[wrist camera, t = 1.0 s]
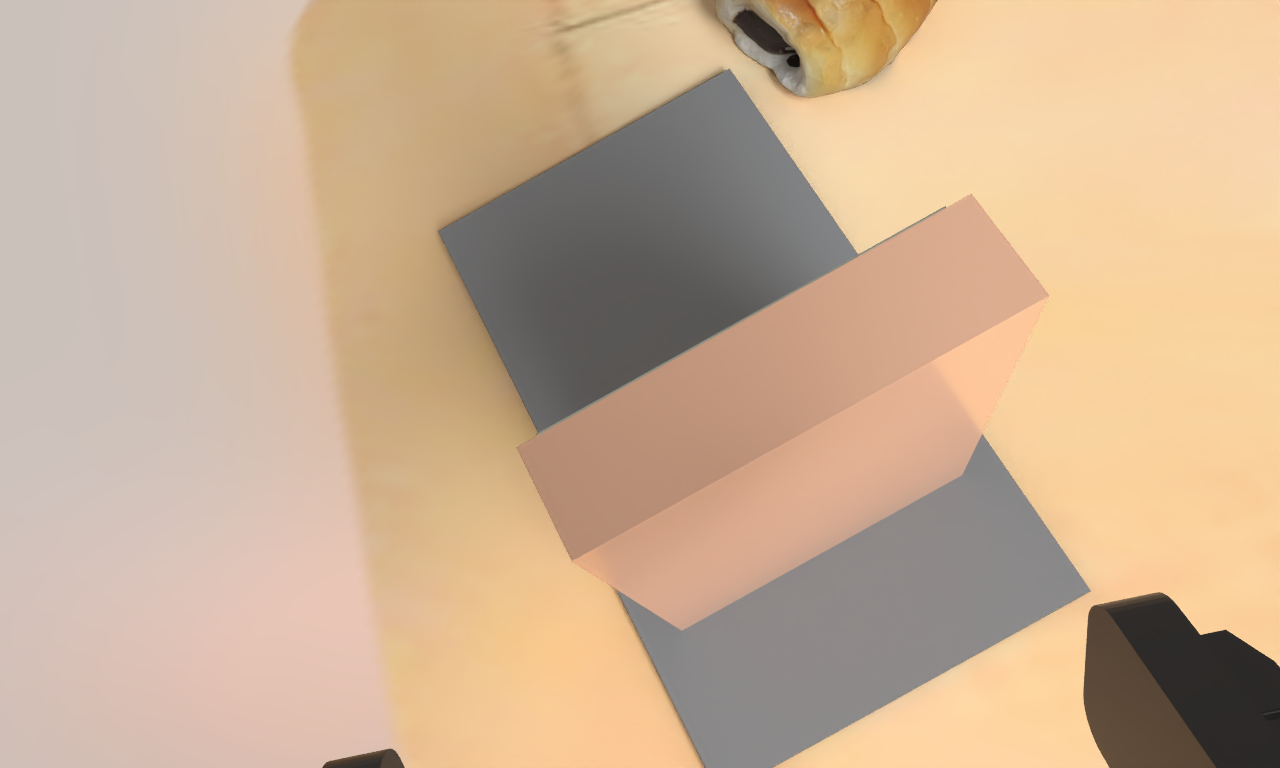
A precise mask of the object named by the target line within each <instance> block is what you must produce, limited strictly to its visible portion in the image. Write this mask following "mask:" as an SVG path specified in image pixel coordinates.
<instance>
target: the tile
mask: <svg viewBox="0 0 1280 768" xmlns="http://www.w3.org/2000/svg"><path fill="white" fill-rule="evenodd" d="M1048 298H1049V294H1048V293H1047V292H1046V290H1045V289H1044V288H1043V286H1042V285H1041V284H1040V283H1039V281H1038V280H1037V279H1036V277H1035V276H1034V275H1033V273H1032V272H1031V271H1030V270H1029V268H1028V267H1027V266H1026V264H1025V263H1024V262H1023V260H1022V259H1021V258H1020V257H1019V255H1018V254H1017V253H1016V251H1015V250H1014V249H1013V247H1012V246H1011V245H1010V243H1009V242H1008V241H1007V240H1006V238H1005V237H1004V236H1003V234H1002V233H1001V232H1000V230H999V229H998V228H997V227H996V225H995V224H994V223H993V221H992V220H991V219H990V217H989V216H988V215H987V214H986V212H985V211H984V210H983V208H982V207H981V206H980V204H979V203H978V202H977V200H976V199H975V198H974V197H973V195H972V194H970V195H968V196H967V197H965V198H963V199H961V200H959V201H958V202H956V203H954V204H952V205H950V206H949V207H947V208H946V207H943V208H941V209H939V210H937V211H936V212H934V213H932V214H930V215H929V216H927V217H925V218H923V219H921V220H920V221H918V222H916V223H914V224H912V225H911V226H909V227H907V228H905V229H903V230H902V231H900V232H898V233H896V234H894V235H893V236H891V237H889V238H887V239H885V240H884V241H882V242H880V243H878V244H876V245H875V246H873V247H871V248H869V249H867V250H866V251H864V252H862V253H860V254H859V255H857V256H855V257H853V258H851V259H850V260H848V261H846V262H844V263H842V264H841V265H839V266H837V267H835V268H833V269H832V270H830V271H828V272H826V273H824V274H823V275H821V276H819V277H817V278H815V279H814V280H812V281H810V282H808V283H806V284H805V285H803V286H801V287H799V288H797V289H796V290H794V291H792V292H790V293H788V294H787V295H785V296H783V297H781V298H780V299H778V300H776V301H774V302H772V303H771V304H769V305H767V306H765V307H763V308H762V309H760V310H758V311H756V312H754V313H753V314H751V315H749V316H747V317H745V318H744V319H742V320H740V321H738V322H736V323H735V324H733V325H731V326H729V327H727V328H726V329H724V330H722V331H720V332H718V333H717V334H715V335H713V336H711V337H710V338H708V339H706V340H704V341H702V342H701V343H699V344H697V345H695V346H693V347H692V348H690V349H688V350H686V351H684V352H683V353H681V354H679V355H677V356H675V357H674V358H672V359H670V360H668V361H666V362H665V363H663V364H661V365H659V366H657V367H656V368H654V369H652V370H650V371H648V372H647V373H645V374H643V375H641V376H639V377H638V378H636V379H634V380H632V381H631V382H629V383H627V384H625V385H623V386H622V387H620V388H618V389H616V390H614V391H613V392H611V393H609V394H607V395H605V396H604V397H602V398H600V399H598V400H596V401H595V402H593V403H591V404H589V405H587V406H586V407H584V408H582V409H580V410H578V411H577V412H575V413H573V414H571V415H569V416H568V417H566V418H564V419H562V420H560V421H559V422H557V423H555V424H553V425H552V426H550V427H548V428H546V429H544V430H543V431H541V432H539V433H537V434H536V435H537V436H536V437H534V438H532V439H530V440H528V441H527V442H525V443H523V444H521V445H519V446H518V447H517V449H518V451H519V453H520V455H521V457H522V459H523V461H524V464H525V466H526V468H527V470H528V472H529V474H530V476H531V478H532V480H533V482H534V484H535V486H536V488H537V490H538V492H539V494H540V496H541V499H542V501H543V503H544V505H545V507H546V509H547V511H548V513H549V515H550V517H551V519H552V521H553V523H554V525H555V527H556V529H557V531H558V534H559V536H560V538H561V540H562V542H563V544H564V546H565V548H566V550H567V552H568V554H569V556H570V558H571V560H572V562H574V563H576V564H577V565H579V566H580V567H582V568H583V569H585V570H587V571H588V572H590V573H591V574H593V575H595V576H596V577H598V578H599V579H601V580H602V581H604V582H606V583H607V584H609V585H610V586H612V587H613V588H615V589H617V590H618V591H620V592H621V593H623V594H625V595H626V596H628V597H629V598H631V599H632V600H634V601H636V602H637V603H639V604H640V605H642V606H643V607H645V608H647V609H648V610H650V611H651V612H653V613H654V614H656V615H658V616H659V617H661V618H662V619H664V620H666V621H667V622H669V623H670V624H672V625H673V626H675V627H677V628H678V629H680V630H681V631H682V630H684V629H686V628H688V627H690V626H691V625H693V624H695V623H697V622H699V621H700V620H702V619H704V618H706V617H708V616H709V615H711V614H713V613H715V612H717V611H718V610H720V609H722V608H724V607H726V606H727V605H729V604H731V603H733V602H735V601H736V600H738V599H740V598H742V597H744V596H745V595H747V594H749V593H751V592H753V591H754V590H756V589H758V588H760V587H762V586H763V585H765V584H767V583H769V582H771V581H772V580H774V579H776V578H778V577H780V576H781V575H783V574H785V573H787V572H789V571H790V570H792V569H794V568H796V567H798V566H799V565H801V564H803V563H805V562H807V561H808V560H810V559H812V558H814V557H816V556H817V555H819V554H821V553H823V552H825V551H826V550H828V549H830V548H832V547H834V546H835V545H837V544H839V543H841V542H843V541H844V540H846V539H848V538H850V537H852V536H853V535H855V534H857V533H859V532H861V531H862V530H864V529H866V528H868V527H870V526H871V525H873V524H875V523H877V522H879V521H880V520H882V519H884V518H886V517H888V516H889V515H891V514H893V513H895V512H897V511H898V510H900V509H902V508H904V507H906V506H907V505H909V504H911V503H913V502H915V501H916V500H918V499H920V498H922V497H924V496H925V495H927V494H929V493H931V492H933V491H934V490H936V489H938V488H940V487H942V486H943V485H945V484H947V483H949V482H951V481H952V480H954V479H956V478H958V477H960V476H961V475H962V474H963V472H964V470H965V468H966V466H967V464H968V462H969V460H970V458H971V456H972V454H973V452H974V450H975V448H976V446H977V443H978V441H979V439H980V437H981V435H982V433H983V431H984V429H985V427H986V425H987V423H988V421H989V419H990V417H991V415H992V413H993V411H994V409H995V407H996V404H997V402H998V400H999V398H1000V396H1001V394H1002V392H1003V390H1004V388H1005V386H1006V384H1007V382H1008V380H1009V378H1010V376H1011V374H1012V372H1013V370H1014V367H1015V365H1016V363H1017V361H1018V359H1019V357H1020V355H1021V353H1022V351H1023V349H1024V347H1025V345H1026V343H1027V341H1028V339H1029V337H1030V335H1031V333H1032V330H1033V328H1034V326H1035V324H1036V322H1037V320H1038V318H1039V316H1040V314H1041V312H1042V310H1043V308H1044V306H1045V304H1046V302H1047V300H1048Z"/></svg>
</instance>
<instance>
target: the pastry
mask: <svg viewBox="0 0 1280 768" xmlns="http://www.w3.org/2000/svg"><path fill="white" fill-rule="evenodd" d="M936 2H937V0H715V6H716V16H717V18H718V19H719V20H720V21H721V22H722V23H723V24H724V25H725V26H726V27H727V28H728V30H729V32H730V33H731V34H733V35H734V37H735V43H736V45H737V46H738V47H739V48H740V49H741V50H742V51H743V52H744V53H745V54H746V55H747V56H748V57H750V58H753V59H754V60H756V61H757V62H758V63H760V64H761V65H763V66H766V67H768V68H771V69H772V70H774V72H775V74H776V77H777V79H778V80H779V82H780V83H781V84H782V85H783V86H784V87H786V88H787V89H788V90H790V91H791V92H792V93H793V94H795V95H797V96H803V97H819V96H824V95H829V94H833V93H836V92H839V91H843V90H848V89H851V88H855V87H857V86H860V85H862V84H864V83H866V82H868V81H869V80H870V79H872V78H873V77H874V76H875V75H877V74H878V73H879V72H880V71H881V70H882V69H884V68H885V67H886V66H887V65H889V64H891V63H892V61H893V60H894V59H895V57H896V56H897V54H898V53H899V51H900V50H901V49H902V48H903V47H904V46H905V45H906V44H907V42H908V41H909V40H910V38H911V37H912V36H913V34H914V33H915V32H916V31H917V30H918V29H919V28H920V26H921V24H922V23H923V21H924V20H925V18H926V17H927V16H928V14H929V13H930V11H931V10H932V8H933V6H934V5H935V3H936Z"/></svg>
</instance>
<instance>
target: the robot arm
mask: <svg viewBox="0 0 1280 768" xmlns="http://www.w3.org/2000/svg"><path fill="white" fill-rule="evenodd" d="M1084 706H1085V711H1086V716H1087V720H1088V723H1089V726H1090V729H1091V732H1092V735H1093V737H1094V739H1095V742H1096V744H1097V746H1098V748H1099V750H1100V752H1101V754H1102V755H1103V757H1104V759H1105V760H1106V762H1107V764H1108V766H1109V767H1110V768H1280V667H1279V666H1278V665H1277V664H1276V663H1275V661H1273V660H1272V659H1270V658H1269V657H1267V656H1265V655H1264V654H1262V653H1261V652H1259V651H1258V650H1256V649H1255V648H1253V647H1252V646H1250V645H1248V644H1247V643H1245V642H1244V641H1242V640H1241V639H1239V638H1238V637H1236V636H1235V635H1233V634H1232V633H1230V632H1228V631H1227V630H1223V631H1218V632H1213V633H1208V634H1203V635H1200V634H1199V633H1198V631H1197V630H1196V629H1195V628H1194V626H1193V625H1192V624H1191V623H1190V621H1189V620H1188V619H1187V617H1186V616H1185V615H1184V614H1183V612H1182V611H1181V610H1180V608H1179V607H1178V606H1177V605H1176V604H1175V602H1174V601H1173V600H1172V599H1171V598H1169V597H1168V596H1167V595H1165V594H1163V593H1160V592H1159V593H1152V594H1148V595H1143V596H1138V597H1133V598H1128V599H1123V600H1119V601H1114V602H1109V603H1104V604H1099V605H1094V606H1093V607H1092V608H1091V609H1090V611H1089V615H1088V628H1087V644H1086V660H1085V676H1084ZM323 768H404V765H403V763H402V761H401V759H400V757H399V756H398V754H397V753H396V751H394V750H393V749H386V750H381V751H376V752H372V753H367V754H362V755H357V756H352V757H348V758H343V759H338V760H333V761H329V762H327V763H326V764H325V765H324V766H323Z"/></svg>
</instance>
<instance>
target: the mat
mask: <svg viewBox="0 0 1280 768" xmlns="http://www.w3.org/2000/svg"><path fill="white" fill-rule="evenodd" d="M438 232H439V234H440V236H441V238H442V240H443V242H444V244H445V246H446V248H447V250H448V252H449V254H450V256H451V258H452V260H453V262H454V264H455V266H456V268H457V270H458V272H459V274H460V276H461V278H462V280H463V282H464V284H465V286H466V288H467V290H468V292H469V294H470V296H471V298H472V300H473V302H474V304H475V306H476V308H477V310H478V312H479V314H480V316H481V318H482V320H483V322H484V324H485V326H486V329H487V331H488V333H489V335H490V337H491V339H492V341H493V343H494V345H495V347H496V349H497V351H498V353H499V355H500V357H501V359H502V361H503V363H504V365H505V367H506V369H507V371H508V373H509V375H510V377H511V379H512V381H513V383H514V385H515V387H516V389H517V391H518V393H519V395H520V397H521V399H522V401H523V403H524V405H525V407H526V409H527V411H528V413H529V415H530V417H531V419H532V421H533V423H534V425H535V427H536V429H537V431H538V433H539V432H541V431H543V430H544V429H546V428H548V427H550V426H552V425H553V424H555V423H557V422H559V421H560V420H562V419H564V418H566V417H568V416H569V415H571V414H573V413H575V412H577V411H578V410H580V409H582V408H584V407H586V406H587V405H589V404H591V403H593V402H595V401H596V400H598V399H600V398H602V397H604V396H605V395H607V394H609V393H611V392H613V391H614V390H616V389H618V388H620V387H622V386H623V385H625V384H627V383H629V382H631V381H632V380H634V379H636V378H638V377H639V376H641V375H643V374H645V373H647V372H648V371H650V370H652V369H654V368H656V367H657V366H659V365H661V364H663V363H665V362H666V361H668V360H670V359H672V358H674V357H675V356H677V355H679V354H681V353H683V352H684V351H686V350H688V349H690V348H692V347H693V346H695V345H697V344H699V343H701V342H702V341H704V340H706V339H708V338H710V337H711V336H713V335H715V334H717V333H718V332H720V331H722V330H724V329H726V328H727V327H729V326H731V325H733V324H735V323H736V322H738V321H740V320H742V319H744V318H745V317H747V316H749V315H751V314H753V313H754V312H756V311H758V310H760V309H762V308H763V307H765V306H767V305H769V304H771V303H772V302H774V301H776V300H778V299H780V298H781V297H783V296H785V295H787V294H788V293H790V292H792V291H794V290H796V289H797V288H799V287H801V286H803V285H805V284H806V283H808V282H810V281H812V280H814V279H815V278H817V277H819V276H821V275H823V274H824V273H826V272H828V271H830V270H832V269H833V268H835V267H837V266H839V265H841V264H842V263H844V262H846V261H848V260H850V259H851V258H853V257H855V256H857V255H858V254H857V252H856V251H855V249H854V248H853V246H852V245H851V244H850V242H849V241H848V239H847V238H846V236H845V235H844V233H843V232H842V231H841V229H840V228H839V226H838V225H837V223H836V222H835V220H834V219H833V218H832V216H831V215H830V213H829V212H828V210H827V209H826V207H825V206H824V205H823V203H822V202H821V200H820V199H819V197H818V196H817V194H816V193H815V192H814V190H813V189H812V187H811V186H810V184H809V183H808V181H807V180H806V179H805V177H804V176H803V174H802V173H801V171H800V170H799V168H798V167H797V166H796V164H795V163H794V161H793V160H792V158H791V157H790V155H789V154H788V153H787V151H786V150H785V148H784V147H783V145H782V144H781V142H780V141H779V140H778V138H777V137H776V135H775V134H774V132H773V131H772V129H771V128H770V126H769V125H768V124H767V122H766V121H765V119H764V118H763V116H762V115H761V113H760V112H759V111H758V109H757V108H756V106H755V105H754V103H753V102H752V100H751V99H750V98H749V96H748V95H747V93H746V92H745V90H744V89H743V87H742V86H741V85H740V83H739V82H738V80H737V79H736V77H735V76H734V74H733V73H732V72H731V70H730V69H728V70H726V71H725V72H723V73H721V74H719V75H717V76H716V77H714V78H712V79H710V80H708V81H707V82H705V83H703V84H701V85H700V86H698V87H696V88H694V89H692V90H691V91H689V92H687V93H685V94H683V95H682V96H680V97H678V98H676V99H674V100H673V101H671V102H669V103H667V104H666V105H664V106H662V107H660V108H658V109H657V110H655V111H653V112H651V113H649V114H648V115H646V116H644V117H642V118H640V119H639V120H637V121H635V122H633V123H631V124H630V125H628V126H626V127H624V128H623V129H621V130H619V131H617V132H615V133H614V134H612V135H610V136H608V137H606V138H605V139H603V140H601V141H599V142H597V143H596V144H594V145H592V146H590V147H589V148H587V149H585V150H583V151H581V152H580V153H578V154H576V155H574V156H572V157H571V158H569V159H567V160H565V161H563V162H562V163H560V164H558V165H556V166H554V167H553V168H551V169H549V170H547V171H546V172H544V173H542V174H540V175H538V176H537V177H535V178H533V179H531V180H529V181H528V182H526V183H524V184H522V185H520V186H519V187H517V188H515V189H513V190H512V191H510V192H508V193H506V194H504V195H503V196H501V197H499V198H497V199H495V200H494V201H492V202H490V203H488V204H486V205H485V206H483V207H481V208H479V209H477V210H476V211H474V212H472V213H470V214H469V215H467V216H465V217H463V218H461V219H460V220H458V221H456V222H454V223H452V224H451V225H449V226H447V227H445V228H443V229H442V230H440V231H438ZM617 591H618V590H617ZM1090 591H1091V590H1090V589H1089V588H1088V586H1087V585H1086V583H1085V582H1084V580H1083V579H1082V577H1081V576H1080V575H1079V573H1078V572H1077V570H1076V569H1075V567H1074V566H1073V564H1072V563H1071V562H1070V560H1069V559H1068V557H1067V556H1066V554H1065V553H1064V551H1063V550H1062V549H1061V547H1060V546H1059V544H1058V543H1057V541H1056V540H1055V538H1054V537H1053V536H1052V534H1051V533H1050V531H1049V530H1048V528H1047V527H1046V525H1045V524H1044V523H1043V521H1042V520H1041V518H1040V517H1039V515H1038V514H1037V512H1036V511H1035V510H1034V508H1033V507H1032V505H1031V504H1030V502H1029V501H1028V499H1027V498H1026V497H1025V495H1024V494H1023V492H1022V491H1021V489H1020V488H1019V486H1018V485H1017V484H1016V482H1015V481H1014V479H1013V478H1012V476H1011V475H1010V473H1009V472H1008V471H1007V469H1006V468H1005V466H1004V465H1003V463H1002V462H1001V460H1000V459H999V457H998V456H997V455H996V453H995V452H994V450H993V449H992V447H991V446H990V444H989V443H988V442H987V440H986V439H985V437H984V436H983V434H982V435H981V437H980V439H979V441H978V443H977V446H976V448H975V450H974V452H973V454H972V456H971V458H970V460H969V462H968V464H967V466H966V468H965V470H964V472H963V474H962V475H961V476H960V477H958V478H956V479H954V480H952V481H951V482H949V483H947V484H945V485H943V486H942V487H940V488H938V489H936V490H934V491H933V492H931V493H929V494H927V495H925V496H924V497H922V498H920V499H918V500H916V501H915V502H913V503H911V504H909V505H907V506H906V507H904V508H902V509H900V510H898V511H897V512H895V513H893V514H891V515H889V516H888V517H886V518H884V519H882V520H880V521H879V522H877V523H875V524H873V525H871V526H870V527H868V528H866V529H864V530H862V531H861V532H859V533H857V534H855V535H853V536H852V537H850V538H848V539H846V540H844V541H843V542H841V543H839V544H837V545H835V546H834V547H832V548H830V549H828V550H826V551H825V552H823V553H821V554H819V555H817V556H816V557H814V558H812V559H810V560H808V561H807V562H805V563H803V564H801V565H799V566H798V567H796V568H794V569H792V570H790V571H789V572H787V573H785V574H783V575H781V576H780V577H778V578H776V579H774V580H772V581H771V582H769V583H767V584H765V585H763V586H762V587H760V588H758V589H756V590H754V591H753V592H751V593H749V594H747V595H745V596H744V597H742V598H740V599H738V600H736V601H735V602H733V603H731V604H729V605H727V606H726V607H724V608H722V609H720V610H718V611H717V612H715V613H713V614H711V615H709V616H708V617H706V618H704V619H702V620H700V621H699V622H697V623H695V624H693V625H691V626H690V627H688V628H686V629H684V630H682V631H681V630H680V629H678V628H677V627H675V626H673V625H672V624H670V623H669V622H667V621H666V620H664V619H662V618H661V617H659V616H658V615H656V614H654V613H653V612H651V611H650V610H648V609H647V608H645V607H643V606H642V605H640V604H639V603H637V602H636V601H634V600H632V599H631V598H629V597H628V596H626V595H625V594H623V593H621V592H620V591H618V593H619V595H620V597H621V599H622V601H623V603H624V605H625V607H626V609H627V611H628V613H629V615H630V617H631V619H632V621H633V623H634V625H635V627H636V629H637V631H638V634H639V636H640V638H641V640H642V642H643V644H644V646H645V648H646V650H647V652H648V654H649V656H650V658H651V660H652V662H653V664H654V666H655V668H656V670H657V672H658V674H659V676H660V678H661V680H662V682H663V684H664V686H665V688H666V690H667V692H668V694H669V696H670V698H671V700H672V702H673V704H674V706H675V708H676V710H677V712H678V714H679V716H680V718H681V720H682V722H683V724H684V726H685V728H686V730H687V732H688V734H689V736H690V738H691V740H692V742H693V744H694V746H695V748H696V750H697V752H698V754H699V756H700V758H701V760H702V762H703V764H704V766H705V768H773V767H775V766H776V765H778V764H780V763H782V762H784V761H785V760H787V759H789V758H791V757H793V756H794V755H796V754H798V753H800V752H802V751H803V750H805V749H807V748H809V747H811V746H812V745H814V744H816V743H818V742H820V741H821V740H823V739H825V738H827V737H829V736H830V735H832V734H834V733H836V732H838V731H839V730H841V729H843V728H845V727H847V726H848V725H850V724H852V723H854V722H856V721H857V720H859V719H861V718H863V717H865V716H866V715H868V714H870V713H872V712H874V711H875V710H877V709H879V708H881V707H883V706H885V705H886V704H888V703H890V702H892V701H894V700H895V699H897V698H899V697H901V696H903V695H904V694H906V693H908V692H910V691H912V690H913V689H915V688H917V687H919V686H921V685H922V684H924V683H926V682H928V681H930V680H931V679H933V678H935V677H937V676H939V675H940V674H942V673H944V672H946V671H948V670H949V669H951V668H953V667H955V666H957V665H958V664H960V663H962V662H964V661H966V660H967V659H969V658H971V657H973V656H975V655H976V654H978V653H980V652H982V651H984V650H985V649H987V648H989V647H991V646H993V645H995V644H996V643H998V642H1000V641H1002V640H1004V639H1005V638H1007V637H1009V636H1011V635H1013V634H1014V633H1016V632H1018V631H1020V630H1022V629H1023V628H1025V627H1027V626H1029V625H1031V624H1032V623H1034V622H1036V621H1038V620H1040V619H1041V618H1043V617H1045V616H1047V615H1049V614H1050V613H1052V612H1054V611H1056V610H1058V609H1059V608H1061V607H1063V606H1065V605H1067V604H1068V603H1070V602H1072V601H1074V600H1076V599H1077V598H1079V597H1081V596H1083V595H1085V594H1086V593H1088V592H1090Z"/></svg>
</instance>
